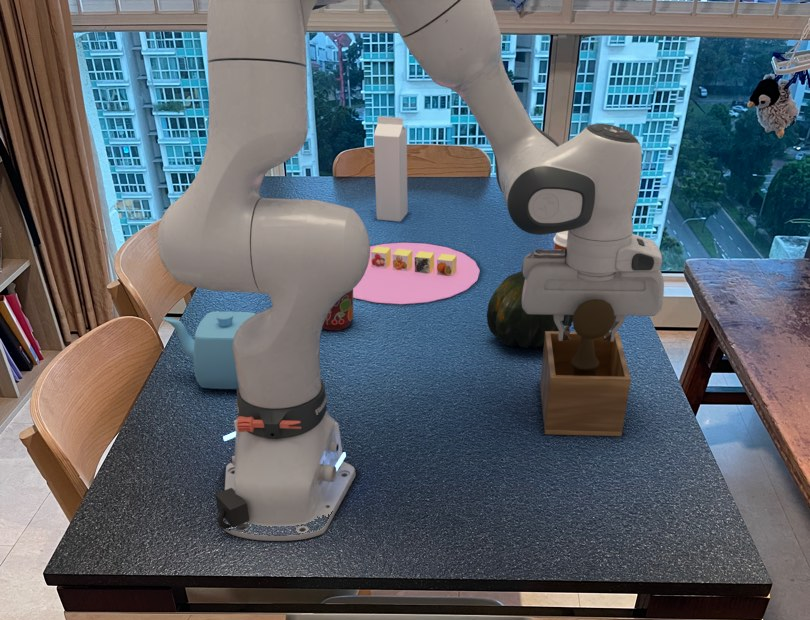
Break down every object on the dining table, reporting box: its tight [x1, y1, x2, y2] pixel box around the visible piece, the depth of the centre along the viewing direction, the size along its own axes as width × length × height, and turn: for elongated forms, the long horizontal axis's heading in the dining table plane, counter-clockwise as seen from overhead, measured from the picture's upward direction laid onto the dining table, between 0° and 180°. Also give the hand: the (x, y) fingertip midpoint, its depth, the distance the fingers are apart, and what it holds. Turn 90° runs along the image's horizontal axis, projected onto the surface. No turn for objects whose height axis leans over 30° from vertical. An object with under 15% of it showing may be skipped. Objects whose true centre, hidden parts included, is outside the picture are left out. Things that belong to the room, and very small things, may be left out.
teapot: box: [162, 311, 256, 390], centre depth 146 cm, size 12×18×12 cm
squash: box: [486, 270, 574, 349], centre depth 155 cm, size 14×15×15 cm
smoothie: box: [322, 289, 354, 331], centre depth 159 cm, size 8×8×20 cm
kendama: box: [571, 299, 615, 376], centre depth 132 cm, size 6×10×20 cm, turn 179°
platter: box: [353, 242, 481, 306], centre depth 182 cm, size 32×32×3 cm
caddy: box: [539, 331, 632, 437], centre depth 137 cm, size 15×12×10 cm
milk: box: [373, 115, 409, 223], centre depth 202 cm, size 6×6×22 cm
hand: (586, 339), depth 133 cm, fingers closed on kendama, 5 cm apart
